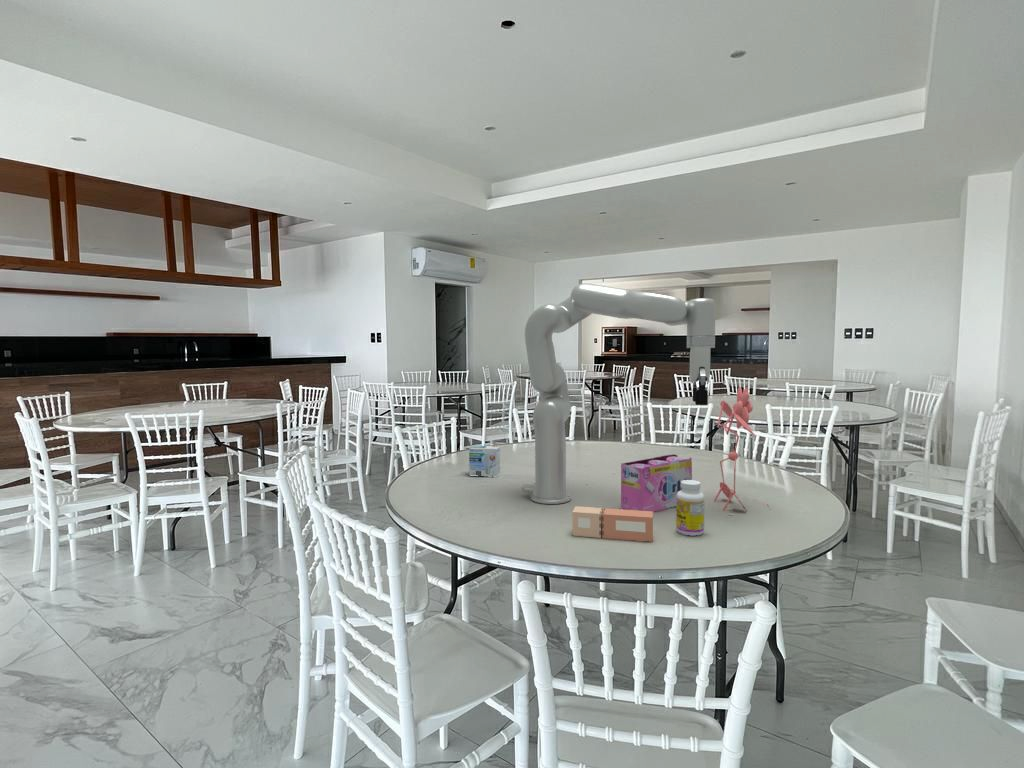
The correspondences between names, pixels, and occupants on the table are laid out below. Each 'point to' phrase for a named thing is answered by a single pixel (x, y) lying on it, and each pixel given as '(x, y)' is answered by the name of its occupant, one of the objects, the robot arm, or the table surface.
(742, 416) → the figurine
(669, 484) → the gum box
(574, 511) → the beige boxy piece
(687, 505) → the supplement bottle
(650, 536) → the cardboard box
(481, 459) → the light bulb box
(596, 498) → the table surface
